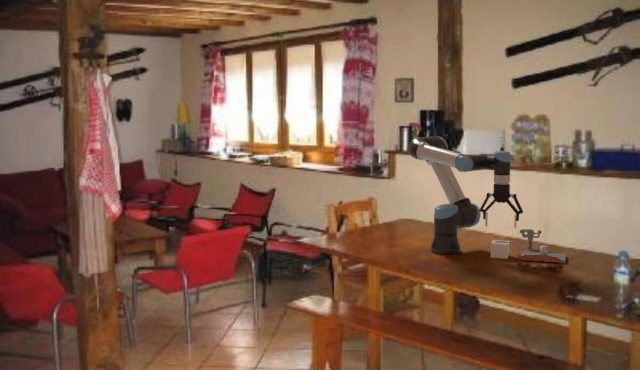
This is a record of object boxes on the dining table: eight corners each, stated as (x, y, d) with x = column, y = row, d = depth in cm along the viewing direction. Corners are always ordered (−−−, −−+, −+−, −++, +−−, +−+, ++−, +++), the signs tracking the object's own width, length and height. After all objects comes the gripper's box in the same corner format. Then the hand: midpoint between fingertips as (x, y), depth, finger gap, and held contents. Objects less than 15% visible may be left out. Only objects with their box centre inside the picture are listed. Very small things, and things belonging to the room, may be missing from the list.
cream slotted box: (490, 257, 311) (490, 242, 310) (492, 253, 318) (492, 239, 317) (507, 258, 308) (507, 243, 307) (509, 254, 315) (509, 240, 314)
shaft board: (520, 260, 304) (520, 248, 303) (522, 254, 317) (522, 242, 316) (565, 263, 297) (565, 251, 296) (565, 256, 310) (566, 244, 309)
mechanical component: (541, 250, 324) (541, 230, 323) (519, 249, 326) (520, 230, 325) (540, 248, 327) (540, 229, 326) (519, 248, 329) (519, 229, 328)
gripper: (474, 183, 309) (473, 226, 312) (528, 185, 301) (527, 229, 303) (476, 181, 316) (475, 223, 319) (529, 183, 308) (527, 226, 310)
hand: (500, 226), depth 311 cm, fingers open, 13 cm apart
